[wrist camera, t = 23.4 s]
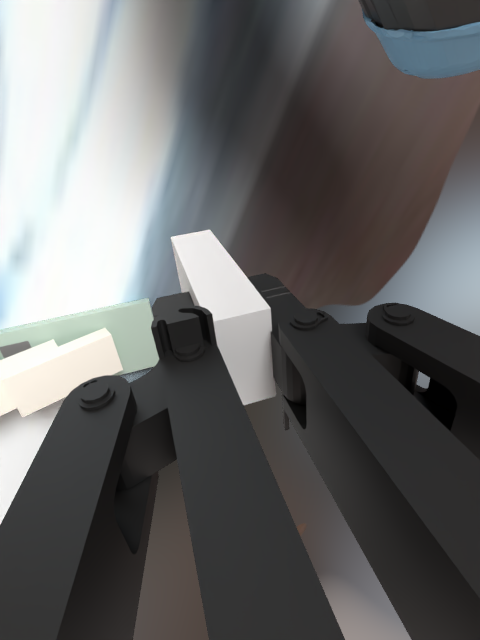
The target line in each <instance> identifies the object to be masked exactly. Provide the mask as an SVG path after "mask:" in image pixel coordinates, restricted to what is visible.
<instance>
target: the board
mask: <svg viewBox="0 0 480 640" xmlns="http://www.w3.org/2000/svg"><path fill="white" fill-rule="evenodd" d="M153 320H154V318H153V314H152V310H151V306H150V302H149V298H145V299H141V300H136V301H131V302H127V303H122V304H118V305H113V306H108V307H104V308H99V309H94V310H90V311H85V312H81V313H76V314H71V315H67V316H62V317H57V318H53V319H48V320H43V321H39V322H34V323H30V324H25V325H20V326H16V327H11V328H6V329H2V330H0V360H2V359H5V358H7V357H10V356H12V355H15V354H17V353H20V352H22V351H25V350H27V349H30V348H32V347H35V346H37V345H40V344H42V343H45V342H47V341H50V340H52V339H54V341H55V343H56V344H57V346H58V347H59V346H61V345H63V344H66V343H68V342H71V341H73V340H76V339H78V338H81V337H83V336H85V335H88V334H90V333H93V332H95V331H98V330H100V329H103V328H106V329H107V330H108V331H109V333H110V334H111V335H112V338H113V341H114V344H115V347H116V350H117V353H118V356H119V359H120V362H121V365H122V368H123V370H122V371H119V372H117V373H115V374H113V375H115V376H118V375H122V374H126V373H130V372H134V371H138V370H142V369H146V368H150V367H154V366H155V365H156V364H157V363H158V360H159V356H158V353H157V349H156V345H155V342H154V338H153V334H152V330H151V325H152V321H153Z"/></svg>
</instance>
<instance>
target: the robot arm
mask: <svg viewBox="0 0 480 640" xmlns="http://www.w3.org/2000/svg"><path fill="white" fill-rule="evenodd" d="M359 2H360V5H361V7H362V11H363V18H364V20H365V22H366V24H367V25H368V27H369V28H370V29H371V30H372V31H374V32H375V33H376V35H377V37H378V39H379V40H380V42H381V44H382V46H383V48H384V50H385V52H386V54H387V55H388V57H389V59H390V61H391V62H392V64H393V65H394V66H395V67H396V68H397V69H398V70H400V71H401V72H403V73H405V74H409V75H416V76H418V77H419V78H426V79H428V78H446V77H452V76H458V75H462V74H466V73H470V72H473V71H477V70H480V0H359ZM171 241H172V246H173V251H174V256H175V261H176V266H177V271H178V276H179V280H180V285H181V290H182V293H179V294H174V295H170V296H165V297H160V298H157V299H156V301H155V303H154V304H153V306H152V312H153V317H154V320H153V321H152V325H151V330H152V334H153V338H154V342H155V345H156V349H157V353H158V356H159V360H158V363H157V364H156V365H155V367H154V368H153V369H152V370H151V371H149V372H148V373H147V374H146V375H144V376H142V377H140V378H139V379H137V380H135V381H133V382H131V383H128V381H127V380H126V379H125V378H122V377H119V376H115V375H105V376H100V377H96V378H92V379H90V380H88V381H86V382H84V383H82V384H80V385H79V386H77V387H76V388H75V389H73V390H72V391H71V392H70V393H69V395H68V396H67V397H66V398H65V400H64V401H63V403H62V405H61V407H60V409H59V411H58V413H57V415H56V417H55V419H54V421H53V423H52V425H51V427H50V429H49V431H48V433H47V435H46V437H45V439H44V441H43V443H42V444H41V446H40V448H39V450H38V452H37V454H36V456H35V458H34V460H33V462H32V464H31V466H30V468H29V470H28V472H27V474H26V476H25V478H24V480H23V482H22V484H21V486H20V488H19V490H18V491H17V493H16V495H15V497H14V499H13V501H12V503H11V505H10V507H9V509H8V511H7V513H6V515H5V517H4V519H3V521H2V523H1V525H0V640H133V635H134V628H135V622H136V616H137V609H138V603H139V597H140V590H141V585H142V578H143V572H144V566H145V560H146V553H147V547H148V540H149V534H150V528H151V522H152V515H153V509H154V503H155V497H156V490H157V484H158V477H159V476H158V471H159V470H160V469H162V468H164V467H165V466H167V465H168V464H170V463H172V462H173V461H175V460H176V459H177V461H178V467H179V473H180V479H181V484H182V489H183V495H184V501H185V506H186V512H187V518H188V523H189V529H190V534H191V541H192V546H193V552H194V557H195V563H196V569H197V574H198V580H199V585H200V591H201V597H202V603H203V608H204V614H205V619H206V625H207V631H208V636H209V640H345V639H344V636H343V634H342V632H341V629H340V627H339V625H338V623H337V620H336V618H335V615H334V613H333V611H332V609H331V606H330V604H329V602H328V599H327V597H326V595H325V592H324V590H323V588H322V586H321V583H320V581H319V579H318V576H317V574H316V572H315V569H314V567H313V565H312V562H311V560H310V558H309V555H308V554H307V551H306V549H305V546H304V544H303V542H302V539H301V537H300V535H299V532H298V530H297V528H296V525H295V523H294V521H293V519H292V516H291V514H290V512H289V509H288V507H287V505H286V502H285V500H284V498H283V496H282V493H281V491H280V489H279V486H278V484H277V482H276V479H275V477H274V475H273V472H272V470H271V468H270V466H269V463H268V461H267V459H266V457H265V454H264V452H263V449H262V447H261V445H260V443H259V440H258V438H257V436H256V433H255V431H254V429H253V427H252V424H251V422H250V419H249V417H248V415H247V413H246V410H245V408H244V406H243V405H247V404H250V403H253V402H257V401H261V400H264V399H268V398H271V397H275V396H276V384H275V381H276V382H277V384H278V386H279V387H280V389H281V391H282V405H283V423H284V428H285V430H288V429H289V419H290V421H291V423H292V425H293V426H294V428H295V430H296V432H297V434H298V435H299V437H300V439H301V441H302V443H303V444H304V446H305V448H306V449H307V452H308V453H309V455H310V457H311V459H312V461H313V462H314V464H315V466H316V468H317V470H318V471H319V473H320V475H321V477H322V479H323V481H324V482H325V484H326V486H327V488H328V489H329V491H330V493H331V495H332V496H333V498H334V500H335V502H336V504H337V506H338V508H339V509H340V511H341V513H342V515H343V516H344V518H345V520H346V522H347V524H348V526H349V527H350V529H351V531H352V533H353V534H354V536H355V538H356V540H357V542H358V543H359V545H360V547H361V549H362V551H363V553H364V554H365V556H366V558H367V560H368V562H369V563H370V565H371V567H372V568H373V571H374V572H375V574H376V576H377V578H378V580H379V582H380V583H381V585H382V587H383V589H384V591H385V592H386V594H387V596H388V598H389V600H390V601H391V603H392V605H393V607H394V609H395V610H396V612H397V614H398V616H399V618H400V619H401V621H402V623H403V625H404V627H405V628H406V630H407V632H408V634H409V636H410V637H411V639H412V640H480V336H478V335H476V334H473V333H471V332H469V331H467V330H464V329H462V328H460V327H458V326H456V325H453V324H451V323H449V322H446V321H444V320H442V319H440V318H438V317H436V316H433V315H431V314H429V313H426V312H424V311H422V310H420V309H418V308H415V307H412V306H409V305H405V304H399V303H386V304H382V305H378V306H375V307H373V308H372V309H371V310H369V312H368V315H367V323H356V324H339V323H338V322H337V321H336V320H334V318H332V316H330V315H329V314H327V313H326V312H324V311H320V310H317V309H308V308H305V307H304V306H303V305H302V304H301V303H300V302H299V301H298V300H297V298H296V297H295V296H294V295H293V294H292V293H290V291H289V290H288V289H287V288H286V287H284V285H283V284H282V283H281V282H280V281H279V280H278V278H275V277H273V276H270V275H268V274H266V273H265V274H261V275H256V276H251V277H246V276H245V274H244V273H243V272H242V270H241V269H240V268H239V267H238V265H237V264H236V263H235V261H234V260H233V259H232V258H231V256H230V255H229V254H228V252H227V251H226V250H225V249H224V247H223V246H222V245H221V243H220V242H219V241H218V239H217V238H216V237H215V236H214V234H213V233H212V232H211V230H205V231H200V232H195V233H189V234H184V235H178V236H173V237H171ZM419 371H420V372H422V373H423V374H425V375H427V376H428V377H430V382H429V387H428V389H424V388H422V387H420V386H418V385H417V384H416V382H417V378H418V372H419Z"/></svg>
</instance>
